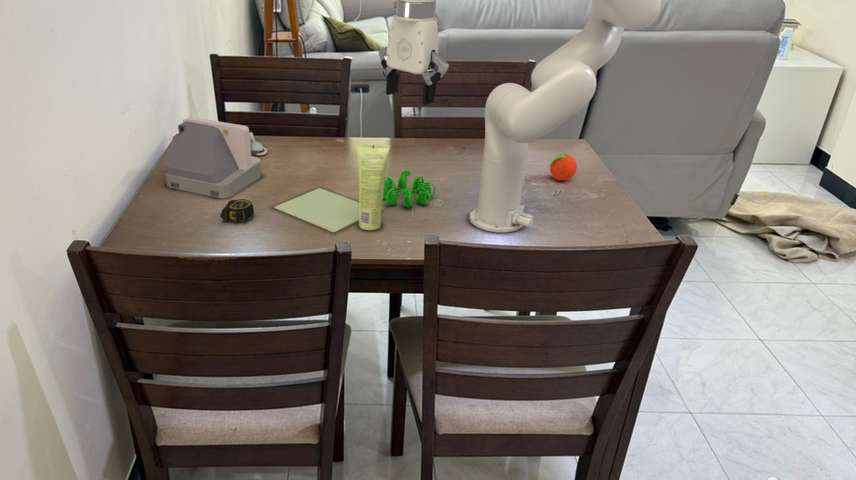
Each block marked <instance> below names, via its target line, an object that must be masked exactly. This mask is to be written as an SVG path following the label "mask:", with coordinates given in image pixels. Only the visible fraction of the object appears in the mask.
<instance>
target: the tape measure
mask: <svg viewBox="0 0 856 480" xmlns="http://www.w3.org/2000/svg"><path fill="white" fill-rule="evenodd" d="M254 213H255V209H254V204H253V202H252V201H251V200H249V199H245V198H238V199H231V200H229V201H228V202H227V203H226V205H225V206H224V207H223V209H222V210H221V212H220V213H219V215H220V216H219V217H220V219H222V220H223V221H225V222H226V221H227V222H229V221H232V222H245V221H248V220H250V219H251V218H253V216H254Z"/></svg>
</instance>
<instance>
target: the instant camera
mask: <svg viewBox="0 0 856 480" xmlns="http://www.w3.org/2000/svg"><path fill="white" fill-rule="evenodd" d="M177 131H178V133H177V134H175V135H173V136H172V139H171V143H170V146H169V149H168V152H167V155H166V159H165V169H166V172H165V182H166V187H168V188H169V189H175V190H178V191H184V192H188V193H193V194H198V195H202V196H207V197H212V198H217V199H228V198H231V197H233V196H235V195H236V194H238V193H239V192H240V191H242V190H243V189H245V188H246V187H248V186H249V185H251V184H253V183H255V181H256V182H257V180H259V179H260V178H261V177H262V168H261V158H260V157H258V156H254V155H251V150H250V147H251V146H250V137H249V133H250V129H249V126H247V125H243V124H238V123H237V124H236V123H232V122H231V123H230V122H226V121H225V122H224V121H218V120H212V119H206V118H200V117H194V116H189V117H187V118H186V117H185V118H184V119H183V120H182V123H179V124H178V125H177Z"/></svg>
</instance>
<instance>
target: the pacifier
mask: <svg viewBox="0 0 856 480" xmlns="http://www.w3.org/2000/svg"><path fill="white" fill-rule="evenodd" d="M249 137H250V150H251V156H256V157H258V156H260V157H261V156H264V155H266V154H267V153H268V149H267V148H266V147H264V146H263V144H262V143H261V142H259V141H256V140H255V139H256V138H255V136H254V133H253V132H252V131H249Z"/></svg>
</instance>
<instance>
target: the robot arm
mask: <svg viewBox="0 0 856 480" xmlns="http://www.w3.org/2000/svg"><path fill="white" fill-rule="evenodd" d="M436 6H437V0H395V1H393V8H395V9H396V11H395V12H396V13H395V15H393V16H392V19H391V22H390V27H389V30H388V35H387V36H388V37H387V43H386V45H387V46H385V47H382V48H381V49H379V50H378V56H379V59H380V65H381V66H382V69H383V72H384V74H385V76H386V82H385V83H386V86H385V94H386V95H387V96H390V95H395V94H398V93H399V85H400V84H399V83H400V74H399V72H398V71H401V72H406V73H409V74H410V73H411V74H413V75H422V78H423V80H424V82H425V83H424V84H423V86H422V87H423V88H422V89H423V90H422V100H421V103H422V105H424V106H427V105H430V104H434V103H435V99H436V91H437V84H439V83H440V81H441V80H442V79H444V78H445V75H446V73H447V71H448V69H449V67H450V64H449V63H448V62H447V60H445V59H444V58H443V57H442V56H441V55H439V29H438V28H439V27H438V20H437V19H435V18H436V8H437V7H436ZM661 8H662V0H592V3H591V9H590V14H589V16H588V20H587V22H586V24H585V25H584V27H583V29H582V30H580V31H579V32H578V33H577V34H576V35H575V36H574V37H572V38H571V39H569V41H566V42H565V43H564V44H563V45H561V46H559V48H557V49H555V50H554V51H553V52H552V53H550V54H549V55H547V56H545V57H544V58H543V59H542V60H540V61H539V62H538V63H537V64H536V65H535V67H534V68H533V70H532V71H531V76H530V82H531V85H532V88H533V89H534V90H533V91H530V90H529V89H528V88H526V87H524V86H523V85H520V84H518V83H514V82H505V83H501V84H499V85H497V86H496V87H495V88H494V89H493V90H492V91H491V92H490V93H489V95H488V97H487V99H486V103H485V106H484V146H483V155H482V163H481V171H480V181H479V189H478V198H477V208H475V209H473V210H471V212H470V213H469V222H470V223H471V224H472V225H473V226H474V227H476V228H478V229H480V230H483V231H487V232H491V233H502V234H503V233H512V232H516V231H519V230H520V229H522V228H523V227H526V228H532V226H533V225H534V215H532V214H529V213H525V211H524V209H525V205H522V204H521V200H522V194H523V186H524V180H525V175H526V166H527V159H528V152H529V143H533V142H536V141H538V140H540V139H541V138H544V137H545V136H546V135H548V134H550V132H552V131H554V130H555V129H556V128H558V127H559V126H561V125H562V124H564V123H565V122H567V121H568V120H570V119H571V118H573V117H574V116H576V114H578V113H579V112H581V111H582V110H583V109H584V108H586V106H587V105H588V104H589V102H590V101H591V100H592V98H593V97H594V95H595V92H596V89H597V77H596V74H595V73H596V72H597V71H598V70H599V69H601V68H602V67H603V66H605V65H606V64H607V63H608V62H609V61H611V60H612V58H613V57H614V56H615V54H616V52H617V50H618V49H619V46H620V44H621V41H622V39H623V38H622V37H623V34H624V31H625V29H626V30H629V31H640V30H644V29H646V28H647V27H650V25H652V24H653V23H654V22H655V21H656V20H657V18H658V16H659V15H660V12H661ZM436 69H437V71H436Z"/></svg>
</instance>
